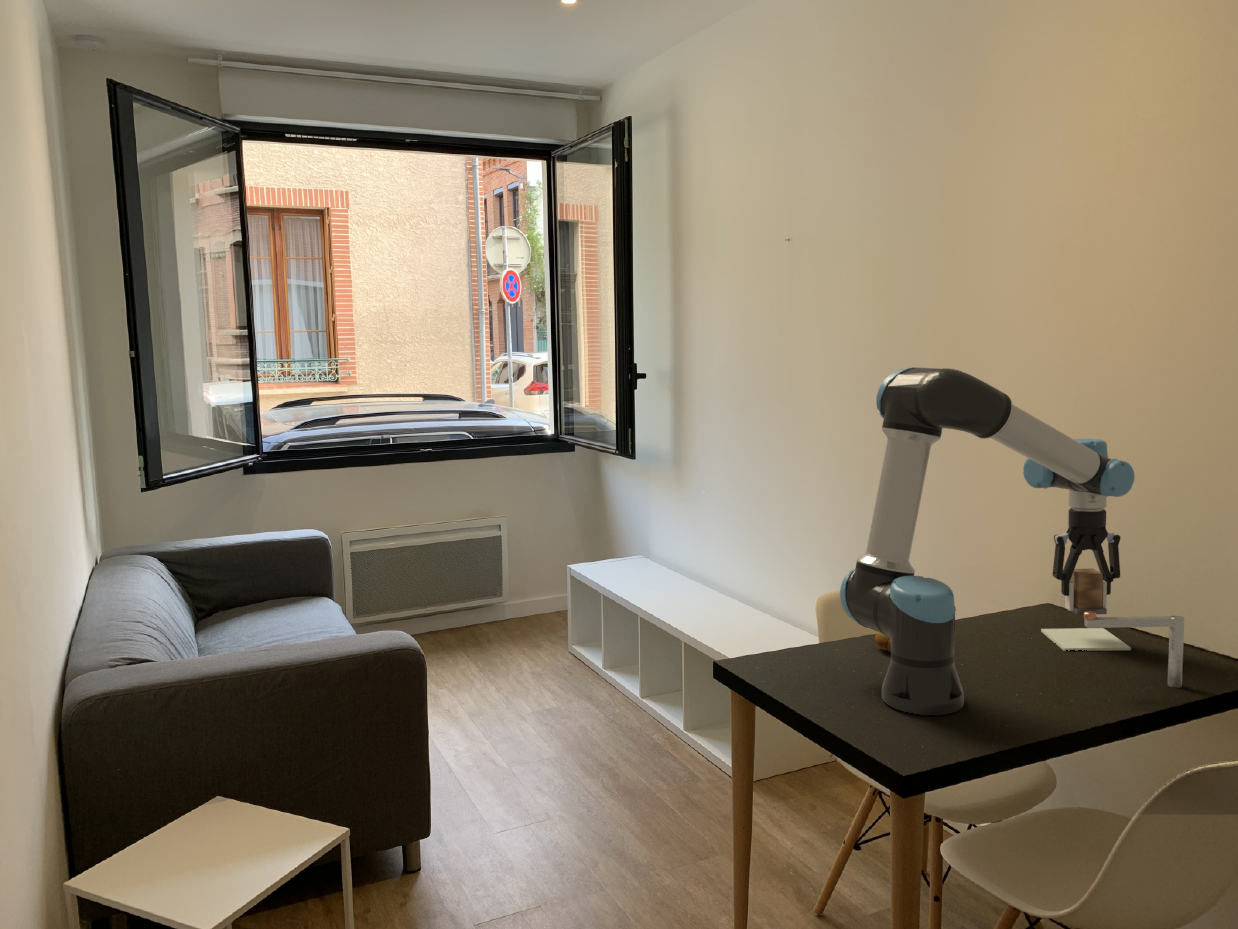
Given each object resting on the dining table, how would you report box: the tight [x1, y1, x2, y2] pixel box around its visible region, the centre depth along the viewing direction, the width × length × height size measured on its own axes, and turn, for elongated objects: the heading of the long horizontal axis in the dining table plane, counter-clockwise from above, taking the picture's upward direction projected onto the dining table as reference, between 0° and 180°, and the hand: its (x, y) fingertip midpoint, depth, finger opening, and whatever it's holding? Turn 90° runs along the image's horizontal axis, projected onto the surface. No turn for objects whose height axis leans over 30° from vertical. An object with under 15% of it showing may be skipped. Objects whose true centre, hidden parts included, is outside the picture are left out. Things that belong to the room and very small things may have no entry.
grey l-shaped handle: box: [1083, 611, 1185, 689], centre depth 182 cm, size 2×19×15 cm, turn 85°
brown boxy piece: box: [1070, 568, 1108, 616], centre depth 209 cm, size 6×6×9 cm
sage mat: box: [1040, 627, 1132, 652], centre depth 210 cm, size 14×14×1 cm
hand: (1085, 608), depth 210 cm, fingers closed on brown boxy piece, 6 cm apart
